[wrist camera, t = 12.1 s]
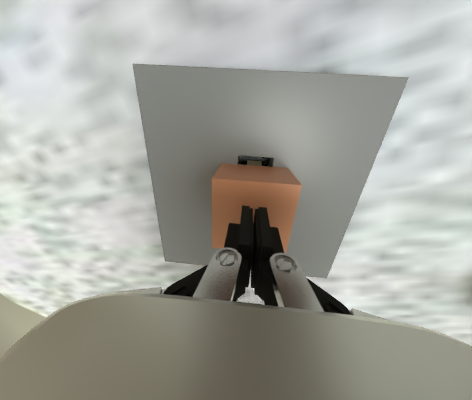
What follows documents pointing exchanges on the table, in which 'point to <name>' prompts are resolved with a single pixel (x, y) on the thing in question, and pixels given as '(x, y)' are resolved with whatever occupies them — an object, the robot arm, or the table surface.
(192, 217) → the socket
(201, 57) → the table surface
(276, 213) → the plug
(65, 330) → the robot arm
